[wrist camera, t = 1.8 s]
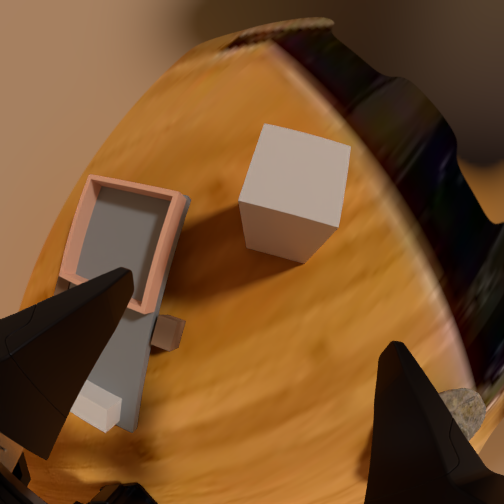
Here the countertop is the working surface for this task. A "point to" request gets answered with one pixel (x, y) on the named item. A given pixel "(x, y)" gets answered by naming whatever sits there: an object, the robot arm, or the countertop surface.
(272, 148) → the grey block
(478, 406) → the fossilized seashell
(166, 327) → the pivot stand
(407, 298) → the countertop surface
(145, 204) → the board
